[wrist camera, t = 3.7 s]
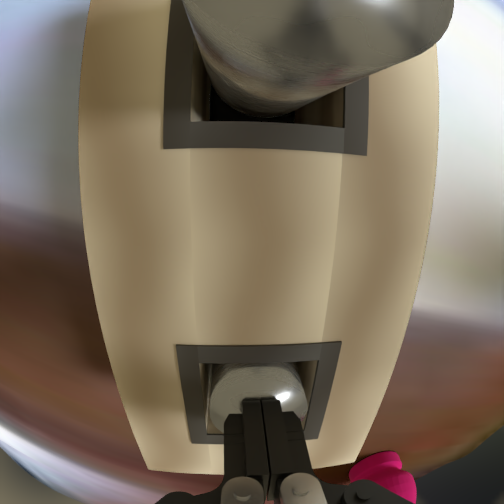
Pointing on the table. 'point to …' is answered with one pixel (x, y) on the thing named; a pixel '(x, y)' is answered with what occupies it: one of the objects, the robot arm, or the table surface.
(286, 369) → the peg
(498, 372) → the table surface
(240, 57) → the peg
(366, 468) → the pepper mill
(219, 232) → the collar block
